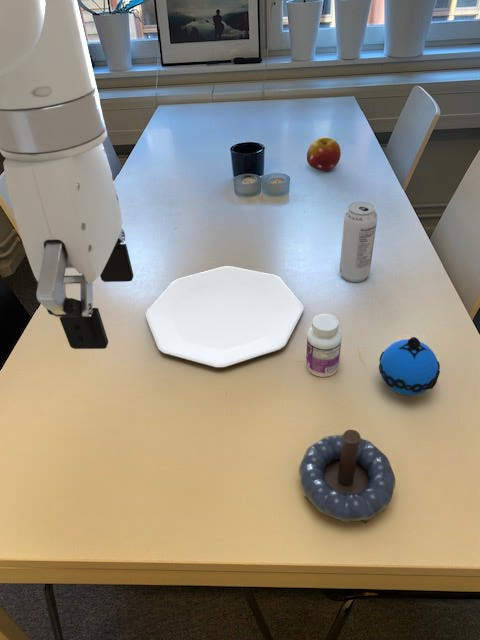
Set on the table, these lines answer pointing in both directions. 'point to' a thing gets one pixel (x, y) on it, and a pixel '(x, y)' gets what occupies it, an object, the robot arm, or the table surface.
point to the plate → (224, 316)
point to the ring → (340, 503)
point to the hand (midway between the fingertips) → (105, 310)
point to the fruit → (323, 154)
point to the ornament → (409, 367)
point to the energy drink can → (358, 241)
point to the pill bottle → (323, 345)
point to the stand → (347, 468)
